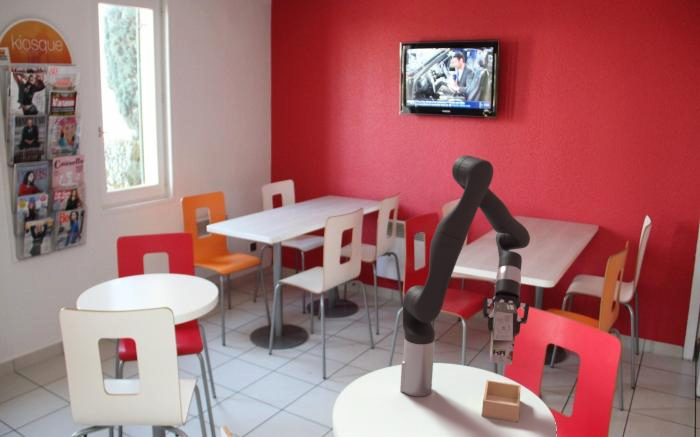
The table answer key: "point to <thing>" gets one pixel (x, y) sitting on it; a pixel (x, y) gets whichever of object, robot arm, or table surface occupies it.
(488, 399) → the open box
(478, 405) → the table surface
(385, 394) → the table surface
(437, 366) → the table surface
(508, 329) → the coffee box
